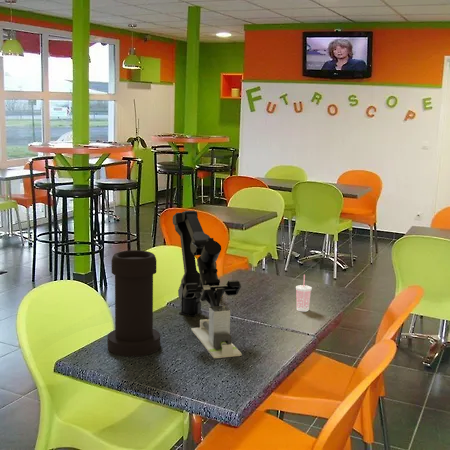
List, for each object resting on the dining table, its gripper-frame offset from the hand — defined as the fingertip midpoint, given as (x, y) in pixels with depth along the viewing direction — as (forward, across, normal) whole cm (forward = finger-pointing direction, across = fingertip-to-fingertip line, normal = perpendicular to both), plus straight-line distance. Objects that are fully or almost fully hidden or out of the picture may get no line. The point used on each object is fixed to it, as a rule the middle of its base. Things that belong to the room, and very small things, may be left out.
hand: (217, 312), depth 197 cm
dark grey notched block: (+12, 0, -3) cm, 12 cm away
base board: (+7, 0, -8) cm, 10 cm away
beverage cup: (-10, -43, -25) cm, 51 cm away
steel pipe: (+6, 0, -7) cm, 9 cm away
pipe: (+5, +26, -10) cm, 29 cm away
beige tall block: (+9, 0, -6) cm, 11 cm away
